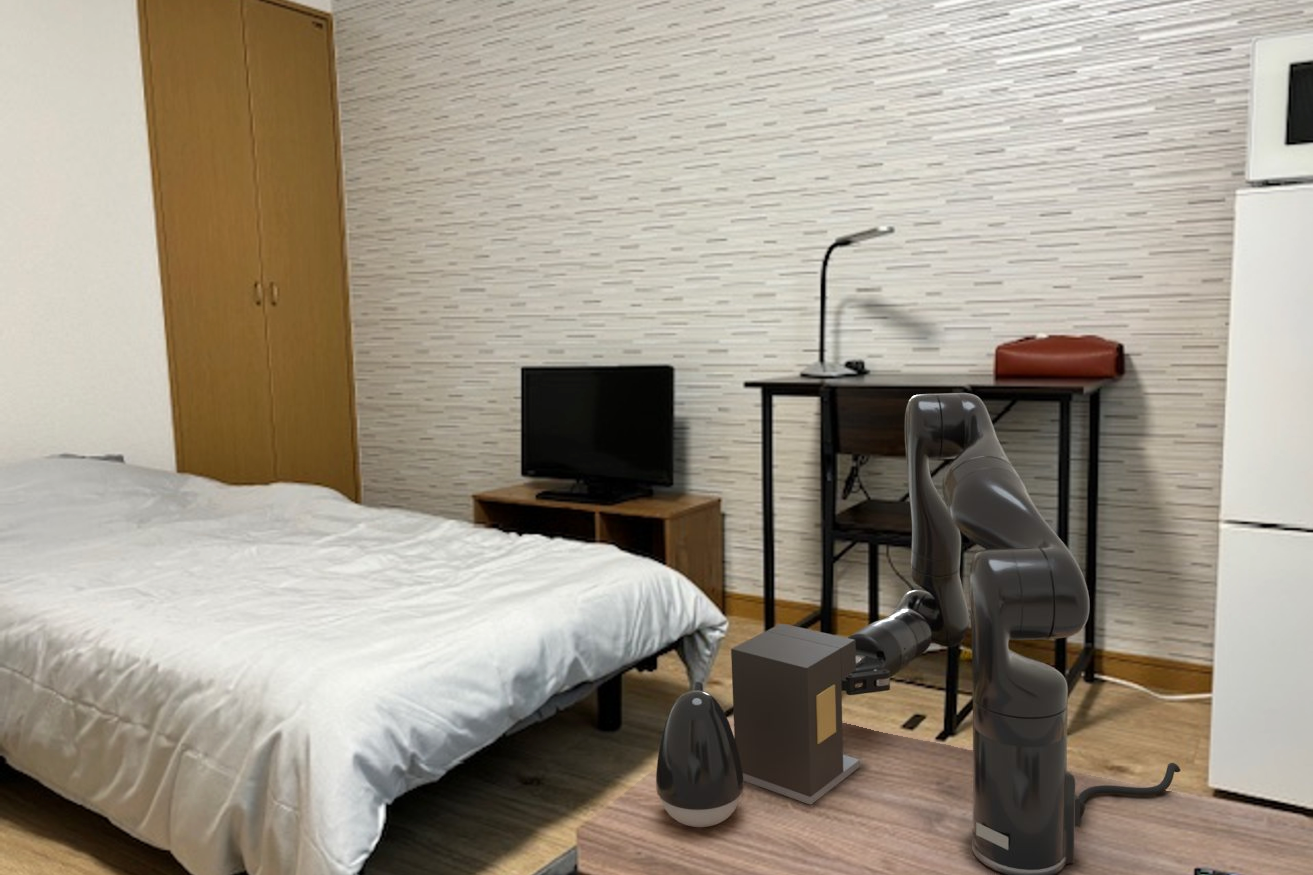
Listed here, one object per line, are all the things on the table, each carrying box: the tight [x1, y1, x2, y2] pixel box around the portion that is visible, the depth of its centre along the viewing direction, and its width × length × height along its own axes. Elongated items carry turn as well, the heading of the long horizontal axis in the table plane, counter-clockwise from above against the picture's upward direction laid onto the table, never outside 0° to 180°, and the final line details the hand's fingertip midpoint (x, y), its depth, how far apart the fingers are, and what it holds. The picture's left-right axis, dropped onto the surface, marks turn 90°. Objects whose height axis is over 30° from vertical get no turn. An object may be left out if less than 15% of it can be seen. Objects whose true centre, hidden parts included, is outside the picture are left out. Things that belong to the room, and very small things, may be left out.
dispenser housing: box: [730, 623, 861, 805], centre depth 123 cm, size 12×11×17 cm
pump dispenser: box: [655, 681, 745, 828], centre depth 115 cm, size 10×10×15 cm
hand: (812, 692), depth 126 cm, fingers closed
